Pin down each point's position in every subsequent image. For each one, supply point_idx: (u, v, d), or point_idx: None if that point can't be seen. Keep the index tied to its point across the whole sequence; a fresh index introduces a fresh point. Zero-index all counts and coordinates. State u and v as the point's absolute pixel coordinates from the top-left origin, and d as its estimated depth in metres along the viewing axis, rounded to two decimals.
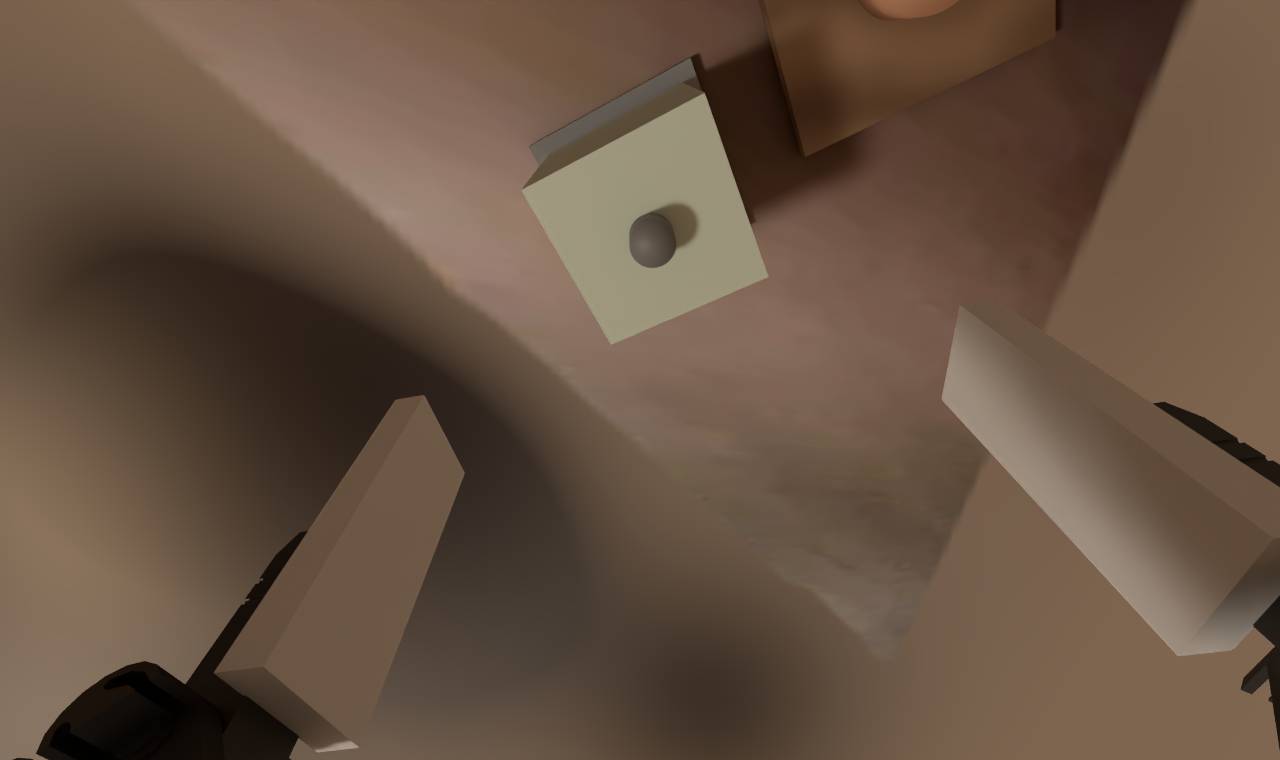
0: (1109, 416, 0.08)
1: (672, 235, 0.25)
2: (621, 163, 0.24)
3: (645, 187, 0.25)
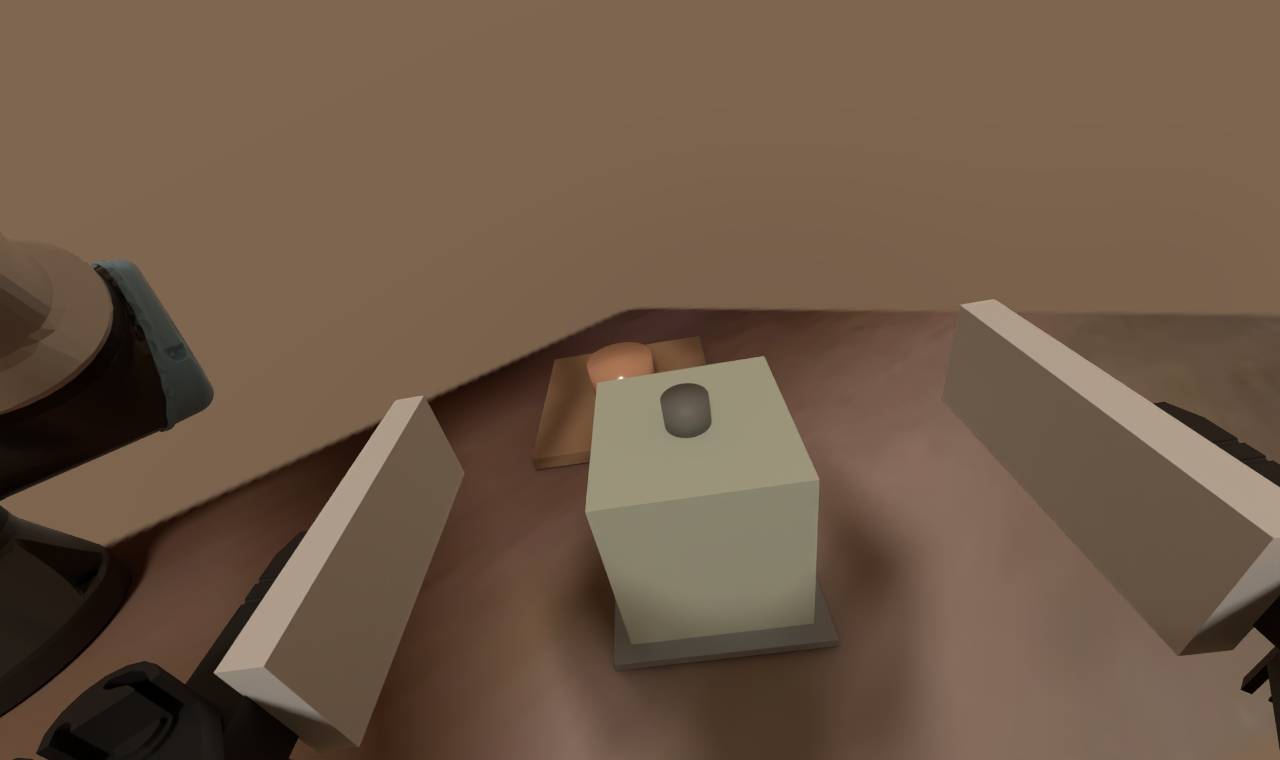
0: (1109, 416, 0.08)
1: (681, 385, 0.25)
2: (612, 431, 0.26)
3: (641, 420, 0.26)
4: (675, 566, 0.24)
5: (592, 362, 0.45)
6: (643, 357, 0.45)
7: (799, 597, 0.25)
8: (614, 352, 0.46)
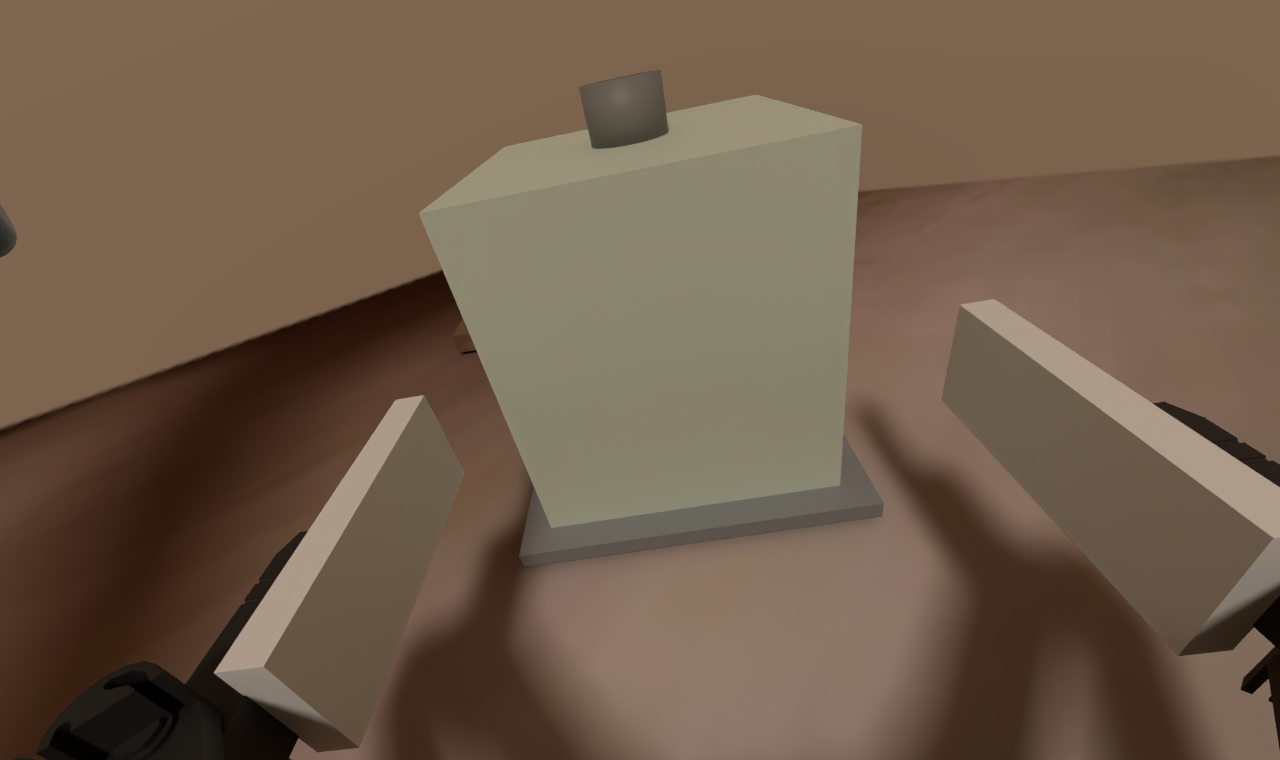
0: (1109, 416, 0.08)
1: (618, 78, 0.15)
2: (507, 163, 0.16)
3: (557, 150, 0.16)
4: (603, 358, 0.14)
5: None
6: None
7: (817, 429, 0.15)
8: None
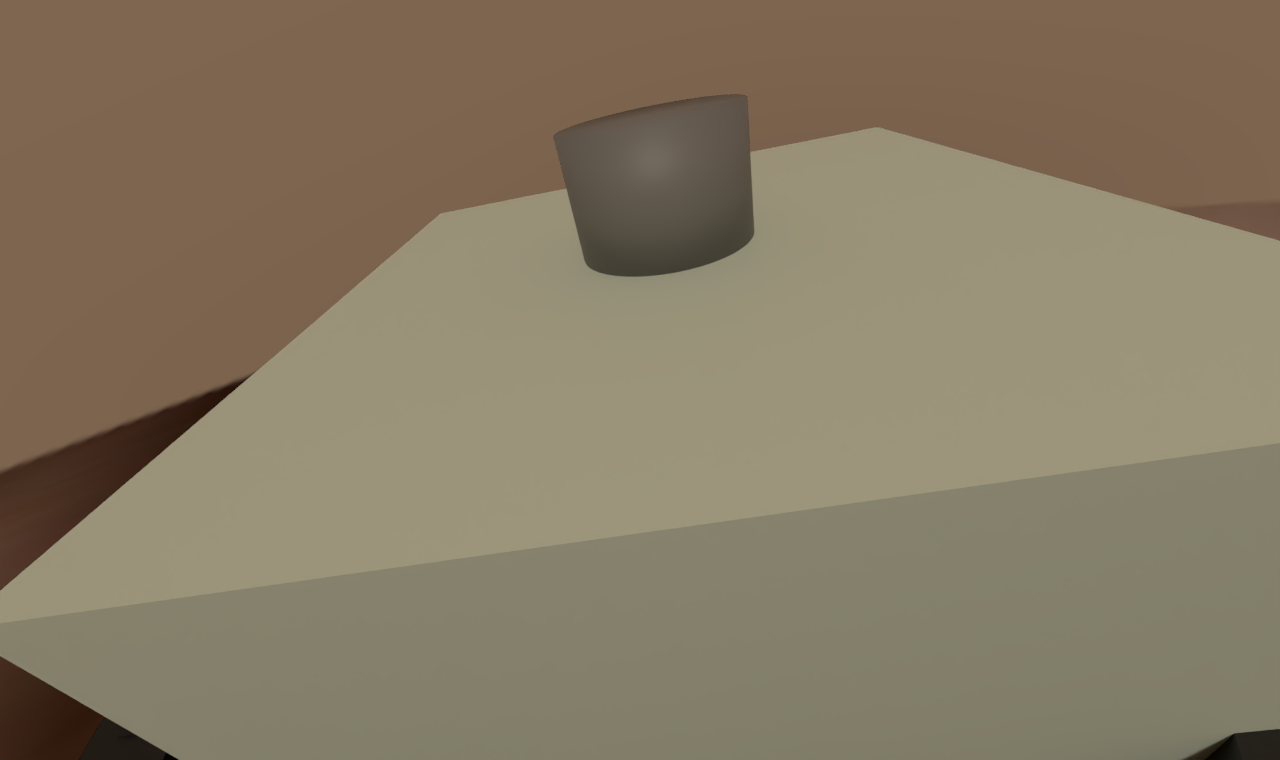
0: None
1: (643, 109, 0.07)
2: (406, 286, 0.07)
3: (514, 254, 0.08)
4: None
5: None
6: None
7: None
8: None
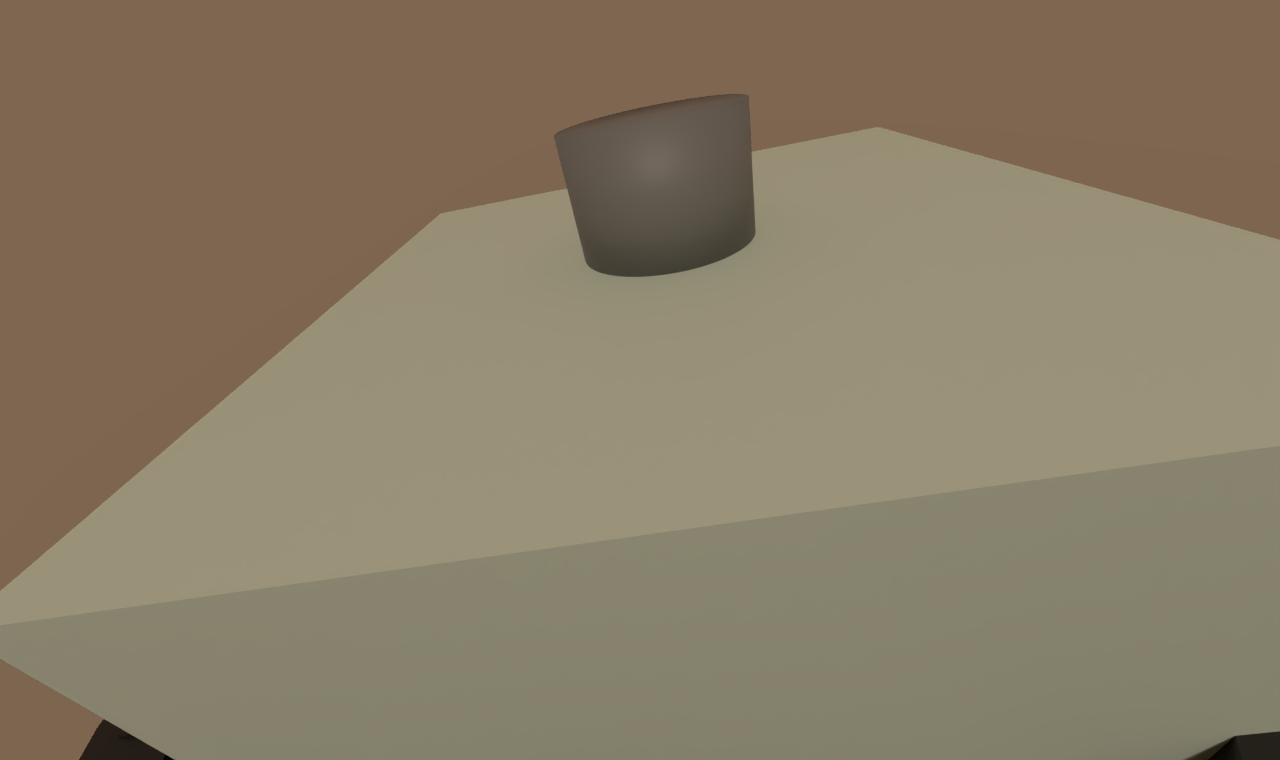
0: None
1: (644, 108, 0.07)
2: (406, 287, 0.07)
3: (514, 254, 0.08)
4: None
5: None
6: None
7: None
8: None
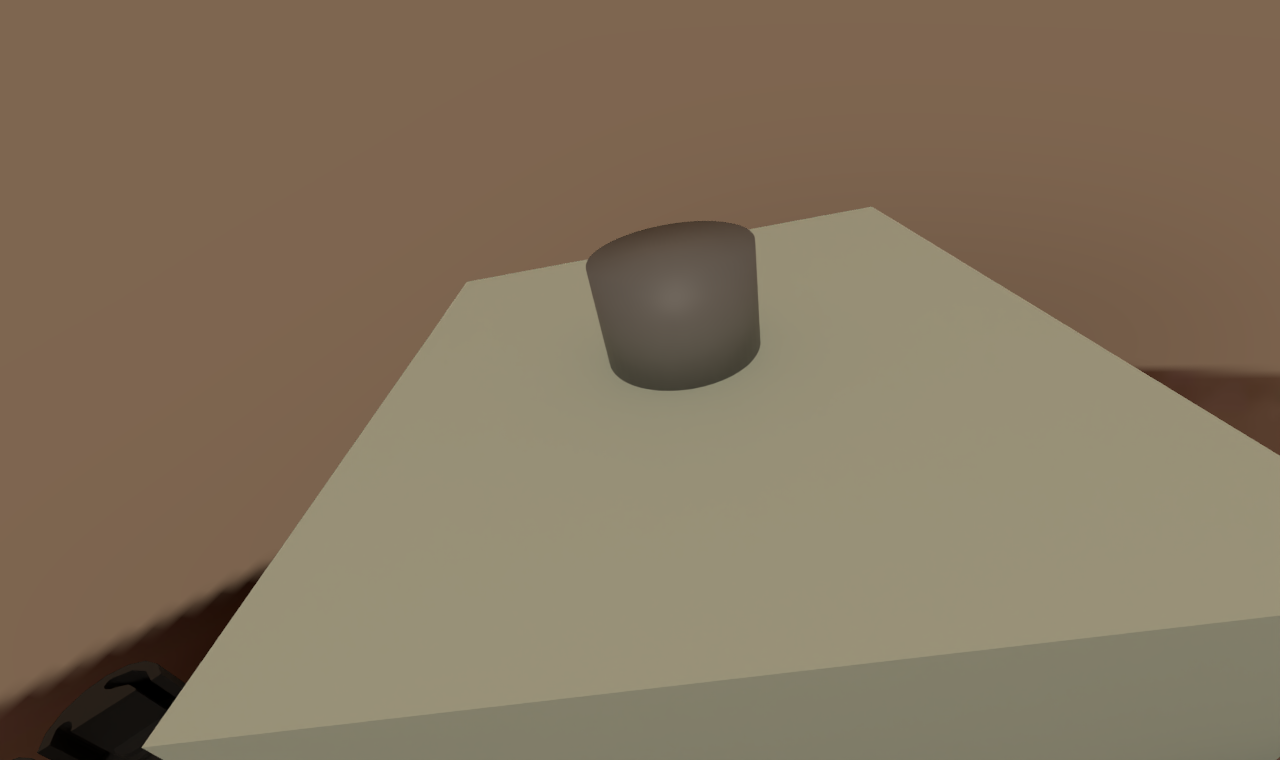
0: None
1: (661, 228, 0.08)
2: (449, 381, 0.08)
3: (544, 348, 0.09)
4: None
5: None
6: None
7: None
8: None
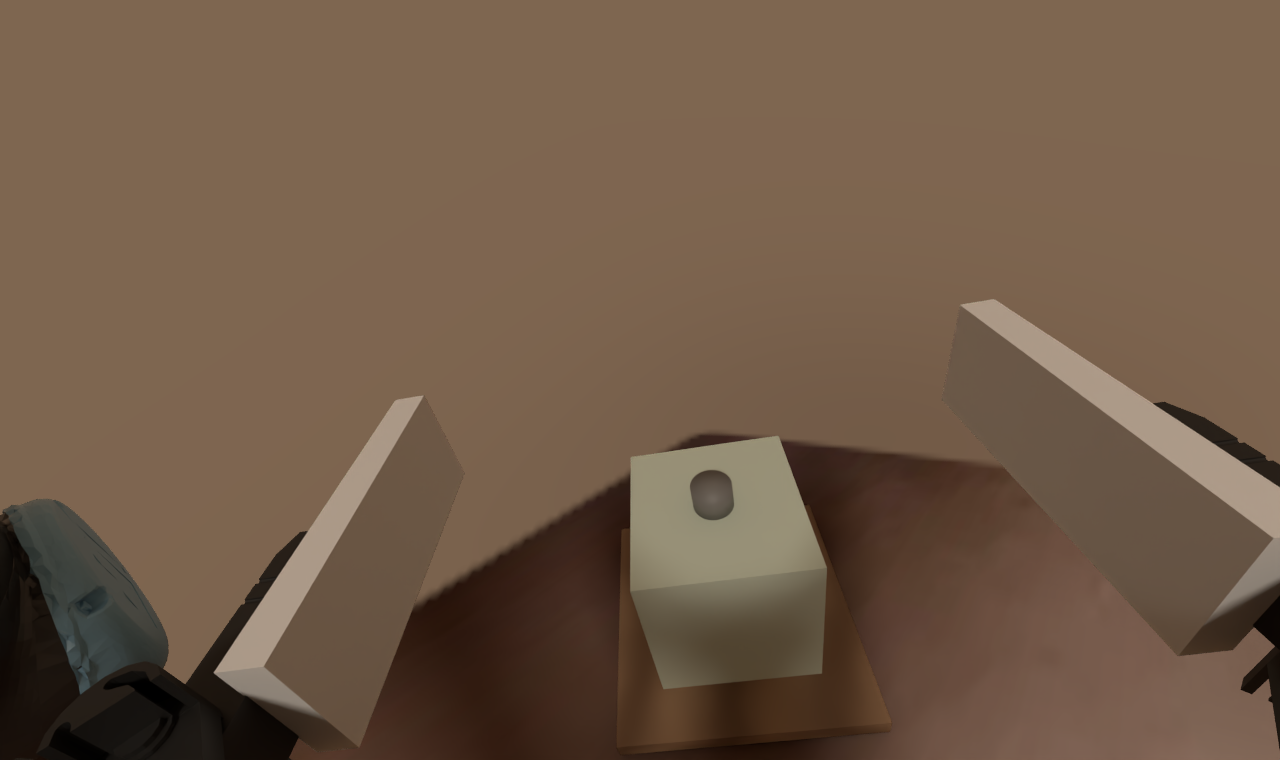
0: (1109, 416, 0.08)
1: (707, 471, 0.29)
2: (647, 510, 0.30)
3: (672, 499, 0.30)
4: (703, 631, 0.28)
5: None
6: None
7: (809, 653, 0.29)
8: None
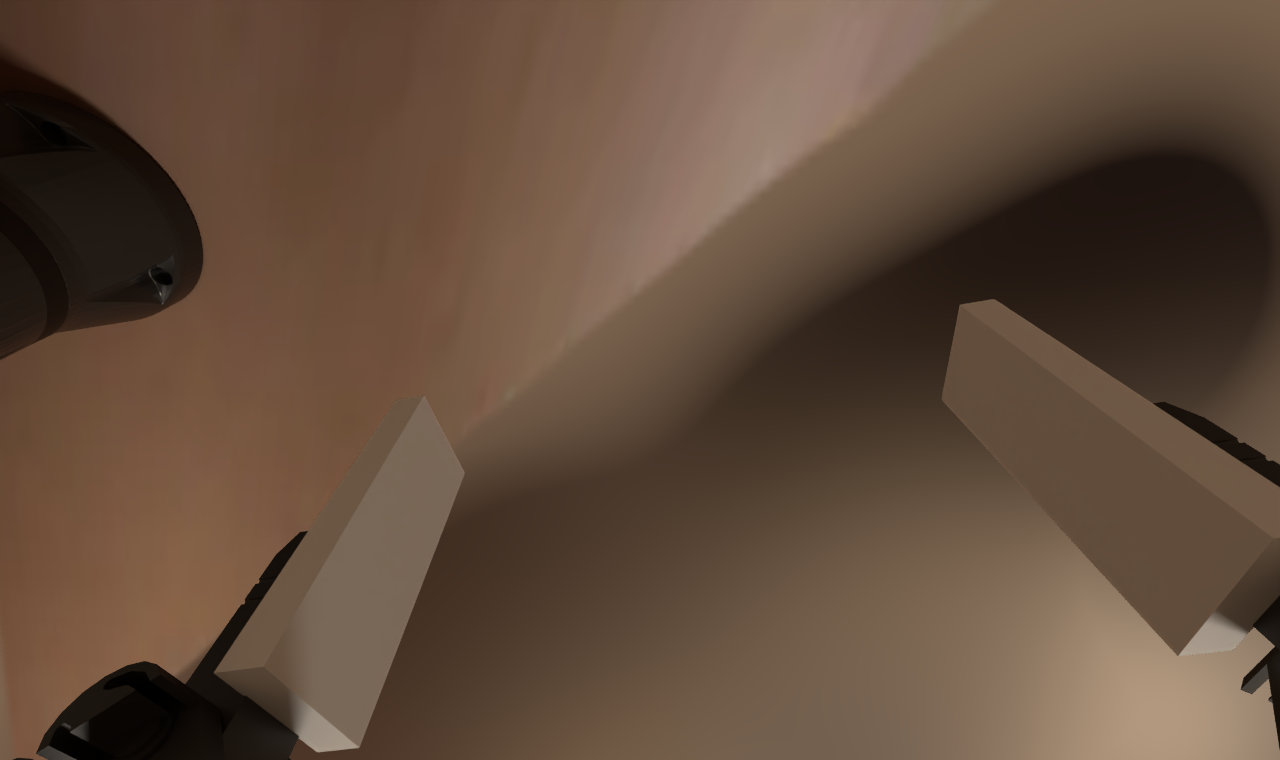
0: (1108, 416, 0.08)
1: None
2: None
3: None
4: None
5: None
6: None
7: None
8: None
